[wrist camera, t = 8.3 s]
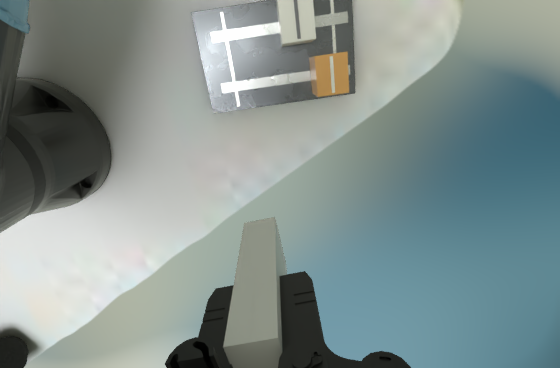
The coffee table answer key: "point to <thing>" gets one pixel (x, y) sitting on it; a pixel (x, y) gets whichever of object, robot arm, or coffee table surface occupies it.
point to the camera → (12, 352)
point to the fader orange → (329, 74)
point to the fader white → (296, 21)
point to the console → (267, 53)
